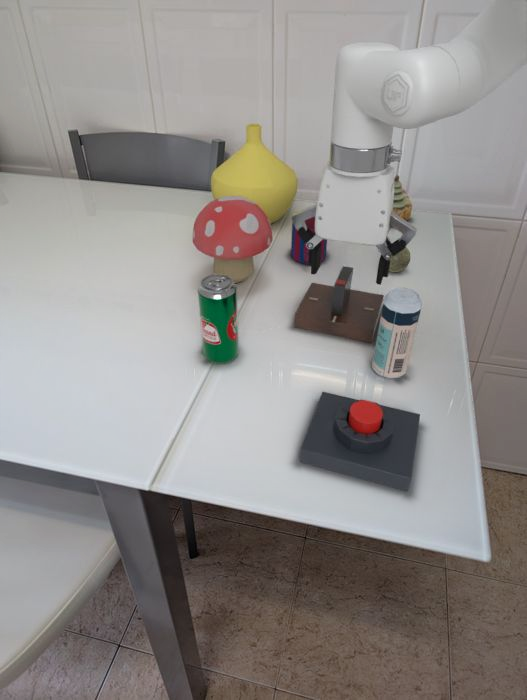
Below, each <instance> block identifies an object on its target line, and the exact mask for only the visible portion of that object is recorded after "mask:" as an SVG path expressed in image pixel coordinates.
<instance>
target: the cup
mask: <svg viewBox="0 0 527 700" xmlns="http://www.w3.org/2000/svg"><path fill="white" fill-rule="evenodd" d="M305 224H306V225H307V226H308V228H309V229H310V230H311V231H312V232H313V233H315V217H312V218H309V219H307V220H305ZM290 244H291V246H290V257H291V258H292V260H294V261H295V262H297V263H301V264H306V265H308V257H309V249H308V248H307V247H306V243H305V242H304V241H303V240H302V239H301V238H300V236H299V235H298V231H297V229H296V228H295V226H294V223H293V221H292V220H291V243H290ZM321 244H322V251H321V262H323V261H324V260H325V259H326V257H327V248H328V247H327V246H328V240H326V239H323V240H322V241H321Z"/></svg>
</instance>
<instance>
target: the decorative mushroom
mask: <svg viewBox="0 0 527 700" xmlns="http://www.w3.org/2000/svg"><path fill="white" fill-rule="evenodd" d="M273 238H274V237H273V230H272V224H270V222H269V219H268V217H267V216H266V214H265V212H264V211H263V210H262V209H261V208H260V207H259V206H258V205H257V204H255V203H254V202H252V201H250V200H248V199H246V198H243V197H239V196H225V197H221V198H218V199H216V200H215V199H214V200H211V201H210V202H208V204H206V205H205V206H204V207H203V208H202V210H201V211H200V212H199V213H198V215H197V216H196V218H195V220H194V223H193V228H192V244H193V245H194V247H195V249H196V250H197V251H199V252H200V253H202V254H203V255H205V256H208V257H212V258H213V273H214V275H215V274H221V275H226V276H229V277H230V278H232V280H233V282H234V284H238V283H240V282H244V281H245V280H247V279H248V278H249V277H250V276H251V275H252V274H253V273H254V271H255V265H254V257H256V256H257V255H260V254H262V253H263V252H265V251H266V250H267V249H269V248H270V247H271V244H272V242H273V240H274V239H273Z"/></svg>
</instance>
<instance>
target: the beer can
mask: <svg viewBox="0 0 527 700" xmlns="http://www.w3.org/2000/svg"><path fill="white" fill-rule="evenodd" d="M422 307H423V302H422V300H421V296H420V294H419V293H418V292H416V291H415V290H413V289H410V288H406V287H394V288H392V289H391V290H389V291H388V292H387V293H386V294H385V295H384V298H383V303H382V309H381V312H380V319H379V323H378V324H379V325H378V330H377V336H376V341H375V347H374V353H373V358H372V361H371V368H372V370H373V371H374V372H375V373H376V374H377V375H379V376H381V377H384V378H387V379H398V378H400V377H403V376H404V375H405V374H406V373H407V370H408V365H409V361H410V356H411V353H412V349H413V345H414V340H415V336H416V332H417V329H418V328H417V327H418V325H419V319H420V316H421V315H420V314H421V310H422Z"/></svg>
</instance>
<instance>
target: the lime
mask: <svg viewBox="0 0 527 700" xmlns="http://www.w3.org/2000/svg"><path fill="white" fill-rule="evenodd" d="M410 262H411V252H410V250H409V249H408V247H407V246H406V247H405V249H403V250H402V251H400V252H399V253H397V254H396V255H394V256H393V257H392V259H391V261H390V267H389V272H392V273H398V272H401V271H403V270H405V268H407V267H409V264H410Z"/></svg>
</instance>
